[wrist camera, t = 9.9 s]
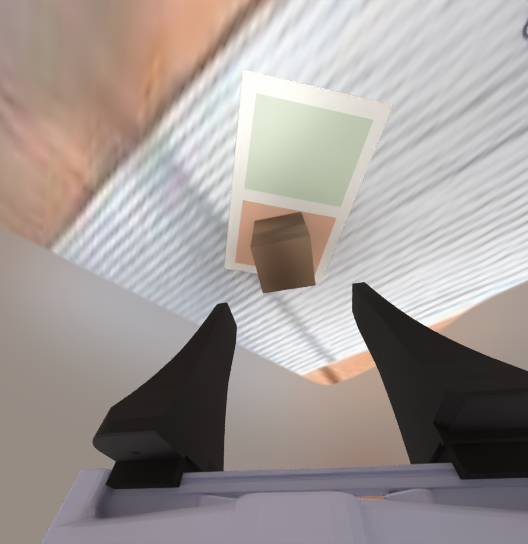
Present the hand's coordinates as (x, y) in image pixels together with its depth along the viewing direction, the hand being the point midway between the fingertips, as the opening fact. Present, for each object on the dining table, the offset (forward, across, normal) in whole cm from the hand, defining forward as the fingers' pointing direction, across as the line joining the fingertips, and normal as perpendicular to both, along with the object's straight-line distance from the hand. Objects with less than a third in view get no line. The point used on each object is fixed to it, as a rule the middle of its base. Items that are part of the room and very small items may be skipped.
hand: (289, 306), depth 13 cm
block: (+9, 0, 0) cm, 9 cm away
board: (+10, -1, -3) cm, 10 cm away
